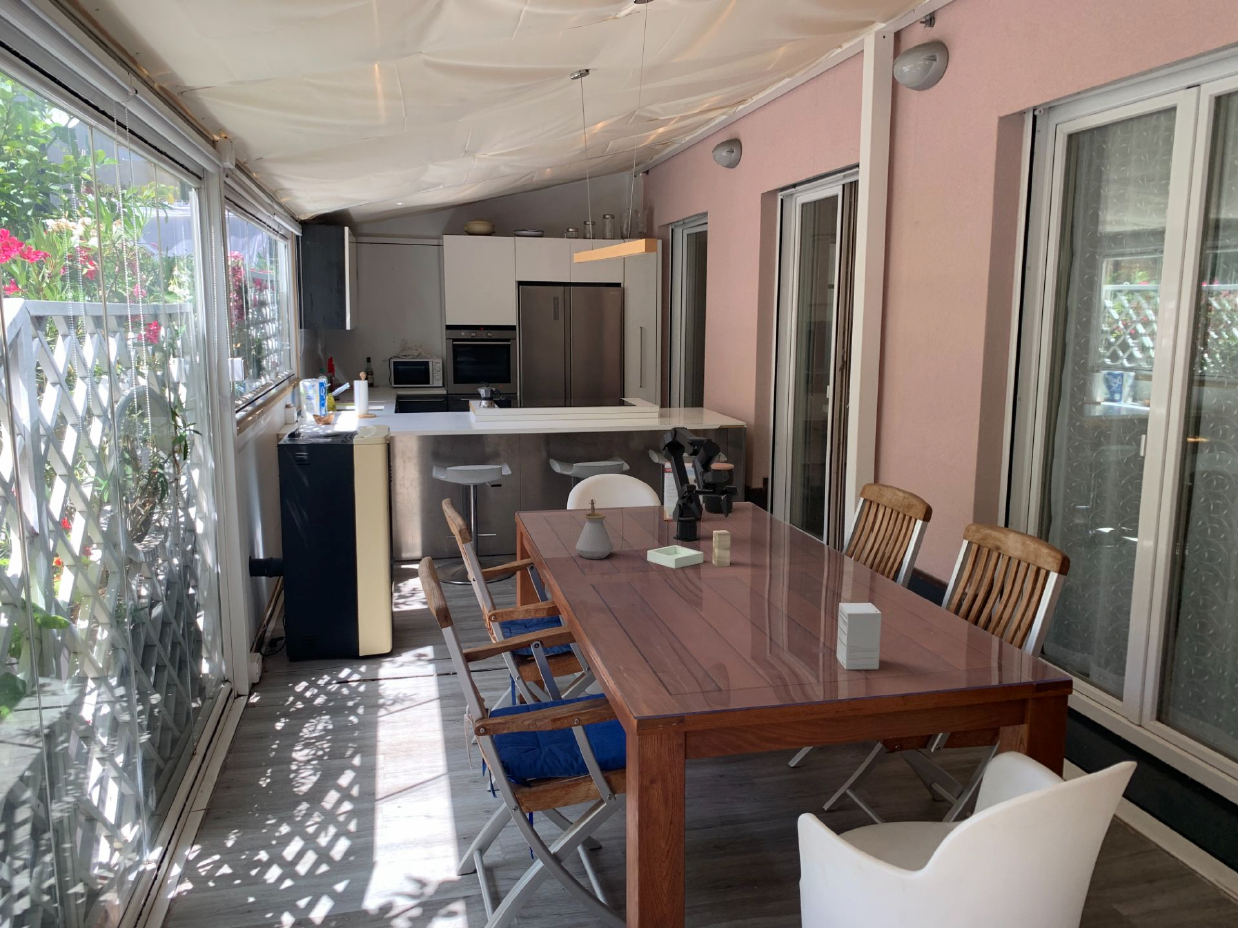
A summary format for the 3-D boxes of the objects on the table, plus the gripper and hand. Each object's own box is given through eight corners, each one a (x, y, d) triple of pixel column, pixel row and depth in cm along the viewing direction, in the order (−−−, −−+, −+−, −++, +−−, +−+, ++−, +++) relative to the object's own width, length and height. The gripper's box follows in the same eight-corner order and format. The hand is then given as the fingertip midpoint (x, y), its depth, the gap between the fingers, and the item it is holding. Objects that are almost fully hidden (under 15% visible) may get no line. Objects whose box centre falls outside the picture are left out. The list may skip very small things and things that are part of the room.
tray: (647, 560, 286) (647, 550, 286) (675, 554, 294) (675, 544, 293) (674, 568, 277) (674, 558, 277) (703, 562, 285) (703, 552, 284)
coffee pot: (614, 560, 285) (614, 512, 283) (576, 560, 284) (576, 512, 282) (609, 543, 306) (609, 498, 304) (574, 543, 305) (574, 498, 303)
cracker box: (702, 518, 346) (703, 462, 343) (702, 522, 341) (703, 465, 337) (664, 517, 348) (665, 461, 345) (663, 520, 342) (664, 464, 339)
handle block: (712, 563, 284) (713, 530, 283) (724, 562, 285) (725, 530, 284) (716, 566, 280) (717, 533, 279) (729, 565, 281) (730, 533, 280)
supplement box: (868, 657, 206) (872, 602, 204) (879, 670, 199) (882, 612, 197) (835, 657, 206) (838, 601, 204) (844, 670, 199) (847, 612, 197)
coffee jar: (733, 514, 355) (735, 467, 352) (705, 513, 355) (706, 466, 353) (731, 508, 366) (732, 463, 363) (703, 508, 366) (705, 462, 363)
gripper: (686, 458, 287) (696, 503, 279) (740, 461, 294) (751, 505, 286) (673, 477, 296) (682, 520, 288) (726, 479, 303) (736, 522, 295)
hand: (713, 516), depth 289 cm, fingers open, 9 cm apart
